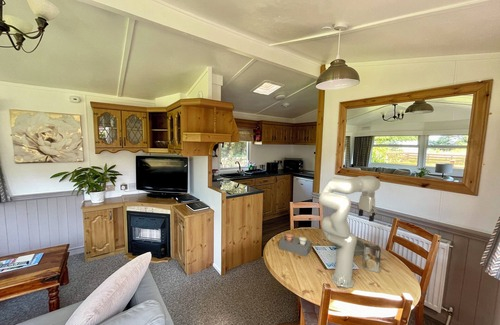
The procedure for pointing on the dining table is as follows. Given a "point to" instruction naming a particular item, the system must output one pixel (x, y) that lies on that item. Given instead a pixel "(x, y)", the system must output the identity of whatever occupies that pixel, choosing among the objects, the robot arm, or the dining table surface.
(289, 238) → the plunger terracotta
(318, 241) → the dining table surface
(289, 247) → the console
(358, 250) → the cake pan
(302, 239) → the plunger white
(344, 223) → the robot arm
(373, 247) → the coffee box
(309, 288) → the dining table surface
